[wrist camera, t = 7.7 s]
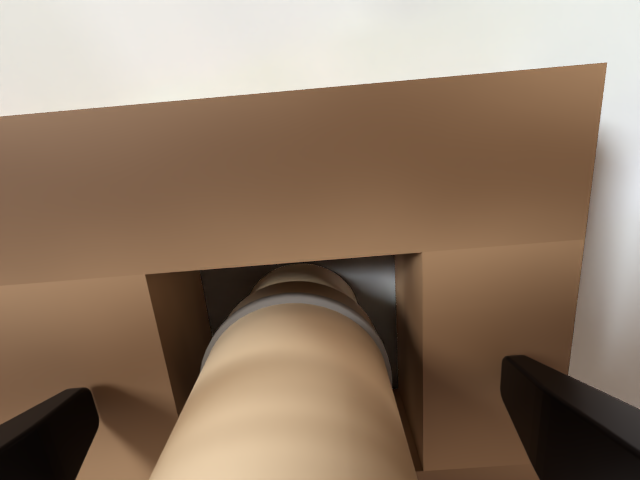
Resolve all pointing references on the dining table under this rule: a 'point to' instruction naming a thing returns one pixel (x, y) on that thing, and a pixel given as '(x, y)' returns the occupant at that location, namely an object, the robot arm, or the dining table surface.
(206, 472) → the peg
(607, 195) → the dining table surface
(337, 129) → the seat board
